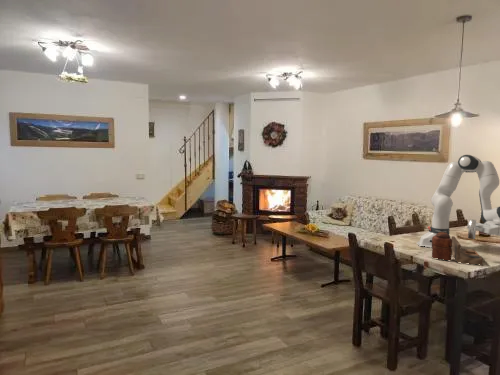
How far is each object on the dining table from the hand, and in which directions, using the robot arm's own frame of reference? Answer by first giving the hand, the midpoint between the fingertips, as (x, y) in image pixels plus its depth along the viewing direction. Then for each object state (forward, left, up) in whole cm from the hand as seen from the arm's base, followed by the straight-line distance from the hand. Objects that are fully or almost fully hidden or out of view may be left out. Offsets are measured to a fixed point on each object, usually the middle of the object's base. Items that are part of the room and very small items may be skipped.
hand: (470, 228), depth 230 cm
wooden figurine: (-17, -5, -21) cm, 27 cm away
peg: (+1, 0, -7) cm, 7 cm away
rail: (-2, +1, -21) cm, 21 cm away
